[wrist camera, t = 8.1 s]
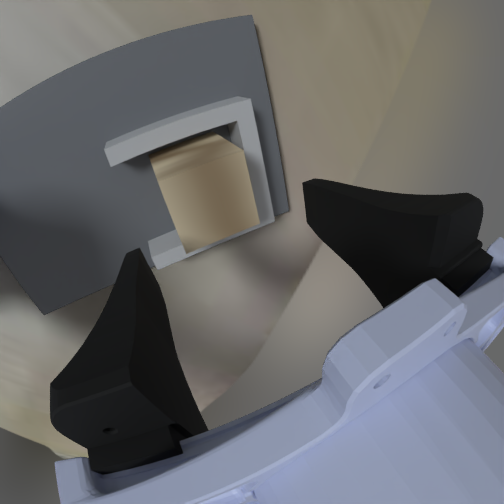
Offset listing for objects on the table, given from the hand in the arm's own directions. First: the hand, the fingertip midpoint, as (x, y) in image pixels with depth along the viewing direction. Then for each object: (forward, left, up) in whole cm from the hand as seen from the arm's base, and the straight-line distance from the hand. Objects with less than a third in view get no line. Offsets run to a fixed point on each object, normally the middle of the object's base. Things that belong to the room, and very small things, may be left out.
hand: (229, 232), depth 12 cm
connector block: (0, 0, -7) cm, 7 cm away
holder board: (-4, +2, -8) cm, 9 cm away
